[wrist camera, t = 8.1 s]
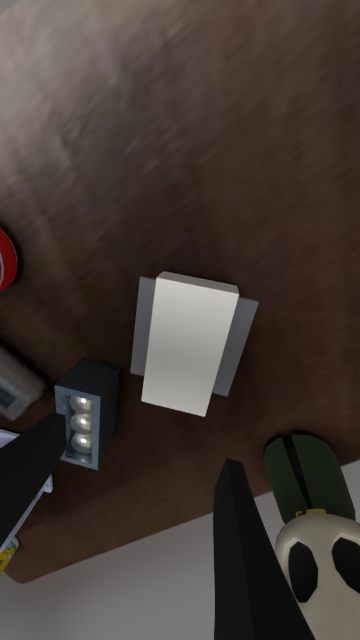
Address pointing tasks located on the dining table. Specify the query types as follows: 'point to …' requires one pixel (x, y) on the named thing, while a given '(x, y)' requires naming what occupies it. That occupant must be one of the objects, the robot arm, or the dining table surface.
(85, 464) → the tin
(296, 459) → the character mug
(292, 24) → the dining table surface
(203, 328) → the lid
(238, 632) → the robot arm
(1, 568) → the supplement bottle
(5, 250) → the beer can
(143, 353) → the mat
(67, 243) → the dining table surface
